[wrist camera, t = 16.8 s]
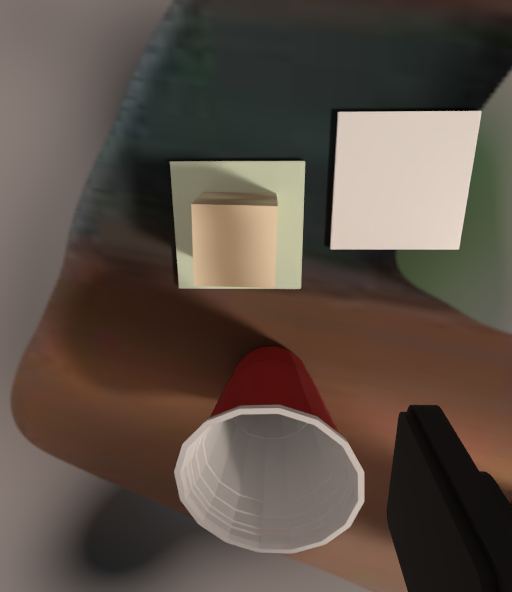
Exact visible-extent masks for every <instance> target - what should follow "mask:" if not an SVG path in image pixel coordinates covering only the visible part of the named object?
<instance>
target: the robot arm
mask: <svg viewBox="0 0 512 592" xmlns="http://www.w3.org/2000/svg"><path fill="white" fill-rule="evenodd" d="M387 520H388V525H389V529H390V533H391V536H392V539H393V543H394V546H395V550H396V553H397V556H398V560H399V563H400V566H401V570H402V573H403V576H404V580H405V583H406V587H407V590H408V592H512V506H511V505H510V503H509V502H508V500H507V498H506V497H505V495H504V494H503V492H502V491H501V489H500V487H499V486H498V484H497V483H496V481H495V480H494V479H493V477H492V476H491V475H490V474H488V473H487V472H479V470H478V469H477V467H476V465H475V464H474V462H473V460H472V459H471V457H470V455H469V454H468V452H467V450H466V449H465V447H464V445H463V444H462V442H461V441H460V439H459V437H458V436H457V434H456V432H455V431H454V429H453V427H452V426H451V424H450V422H449V421H448V419H447V417H446V416H445V414H444V413H443V411H442V409H441V408H440V407H439V406H437V405H410V406H409V407H408V410H407V412H400V414H399V418H398V425H397V433H396V441H395V449H394V457H393V465H392V473H391V481H390V489H389V496H388V504H387Z"/></svg>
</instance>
